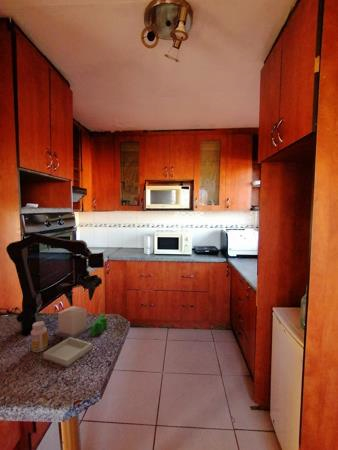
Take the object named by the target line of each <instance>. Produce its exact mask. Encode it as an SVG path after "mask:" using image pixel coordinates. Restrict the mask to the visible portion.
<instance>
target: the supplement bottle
mask: <svg viewBox="0 0 338 450" xmlns="http://www.w3.org/2000/svg"><path fill="white" fill-rule="evenodd" d="M30 340H31V342H30V343H31V352H33V353H40V352H42V351H46V349H48V345H49V344H48V341H49V340H48V329H47V327H46V325H45V321H44V320H39V321H36V323H34V324H33V330H32V331H31V334H30Z"/></svg>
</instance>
